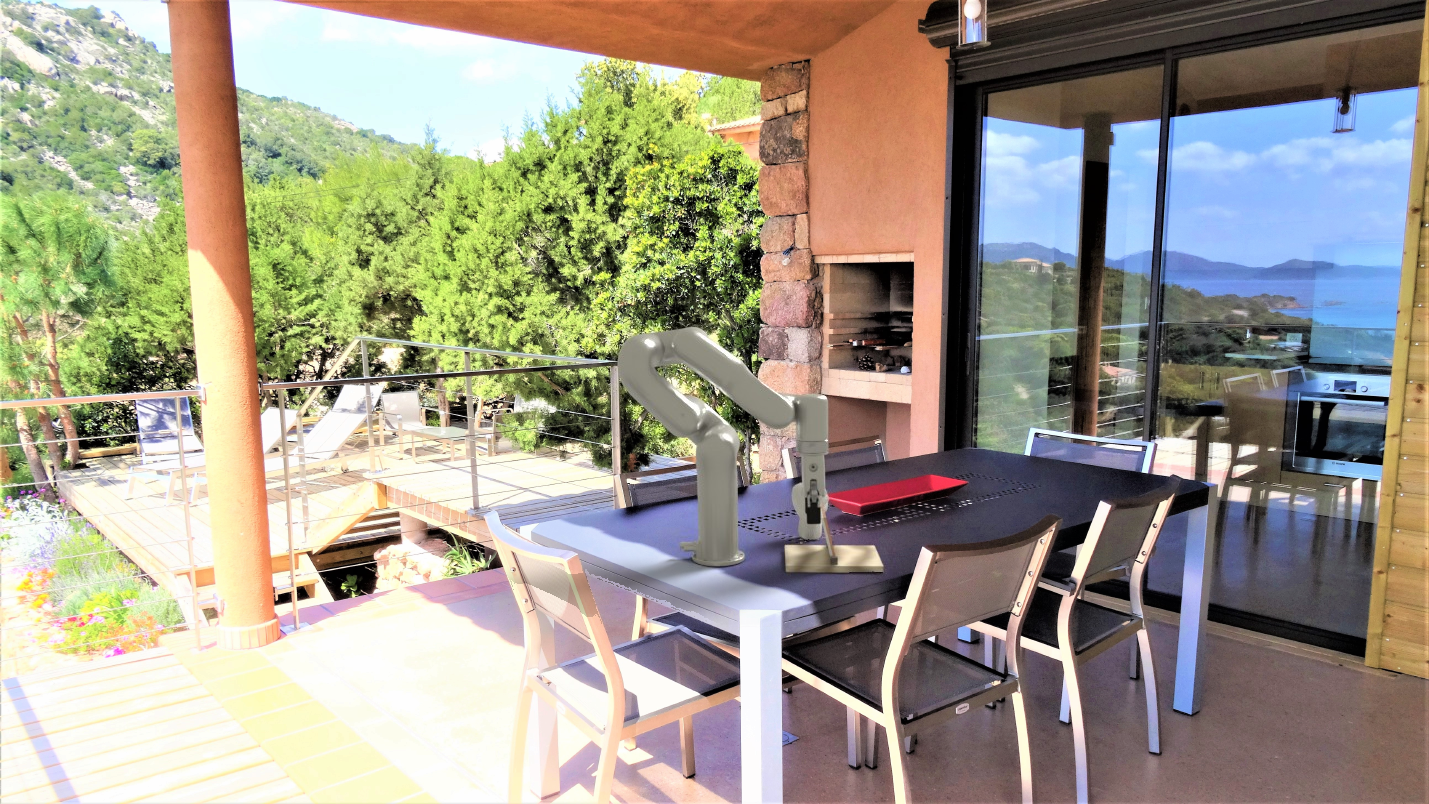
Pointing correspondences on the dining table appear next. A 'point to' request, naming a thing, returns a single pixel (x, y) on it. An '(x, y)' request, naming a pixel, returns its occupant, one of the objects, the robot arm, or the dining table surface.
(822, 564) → the board
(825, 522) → the tile
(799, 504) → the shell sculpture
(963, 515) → the dining table surface
